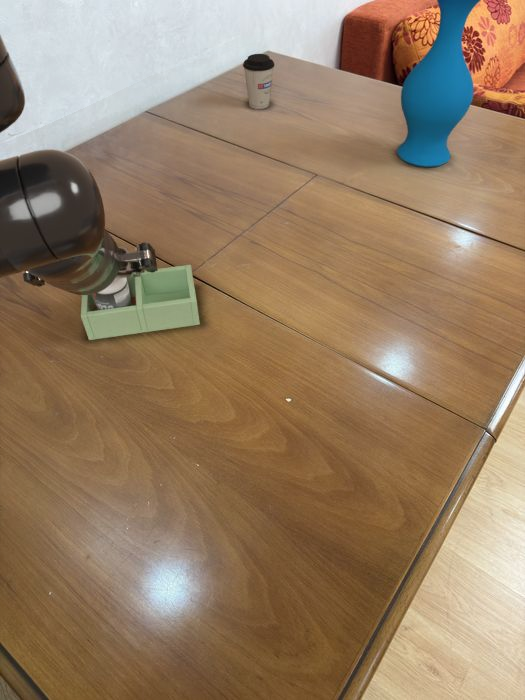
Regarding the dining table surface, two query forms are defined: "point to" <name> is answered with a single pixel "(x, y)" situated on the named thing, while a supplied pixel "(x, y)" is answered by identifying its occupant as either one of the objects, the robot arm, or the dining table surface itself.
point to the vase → (437, 90)
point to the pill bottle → (114, 295)
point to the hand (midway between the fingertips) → (102, 272)
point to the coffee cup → (258, 79)
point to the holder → (146, 305)
